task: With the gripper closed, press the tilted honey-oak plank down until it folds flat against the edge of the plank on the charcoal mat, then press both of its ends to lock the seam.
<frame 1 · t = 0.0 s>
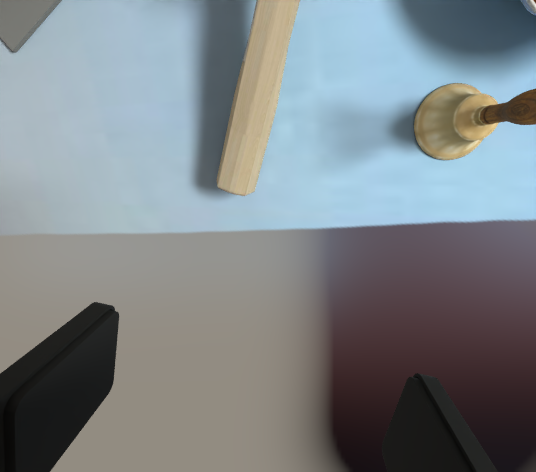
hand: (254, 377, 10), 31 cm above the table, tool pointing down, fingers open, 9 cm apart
hand bell: (450, 122, 36), on the table
hammer: (272, 62, 36), on the table
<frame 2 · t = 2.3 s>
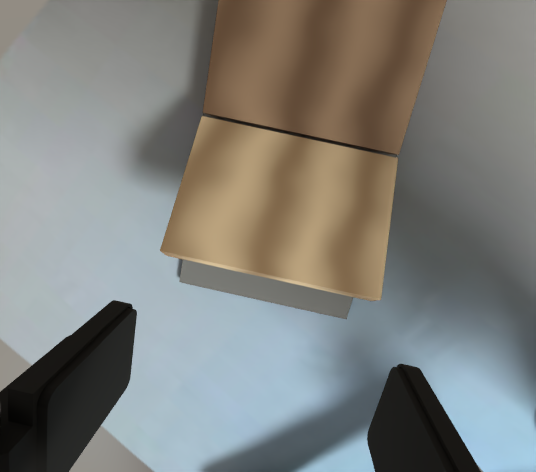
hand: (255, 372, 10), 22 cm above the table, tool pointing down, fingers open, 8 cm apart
floor section: (294, 156, 30), on the table
oak plank: (284, 206, 26), point 5 cm above the table, hinge at 30.0°
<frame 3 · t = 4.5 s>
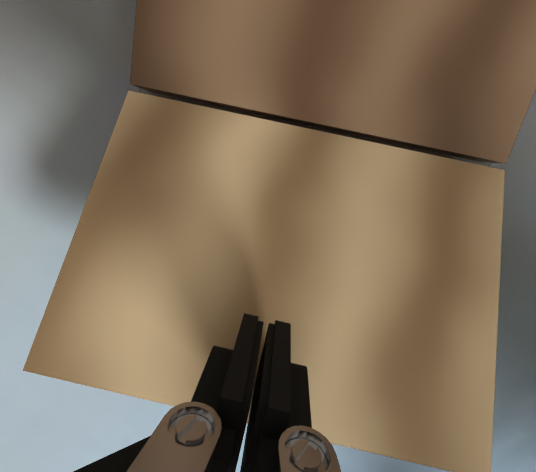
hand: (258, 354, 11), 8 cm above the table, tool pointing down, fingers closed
floor section: (303, 165, 17), on the table
oak plank: (284, 264, 14), point 5 cm above the table, hinge at 28.6°, touching gripper
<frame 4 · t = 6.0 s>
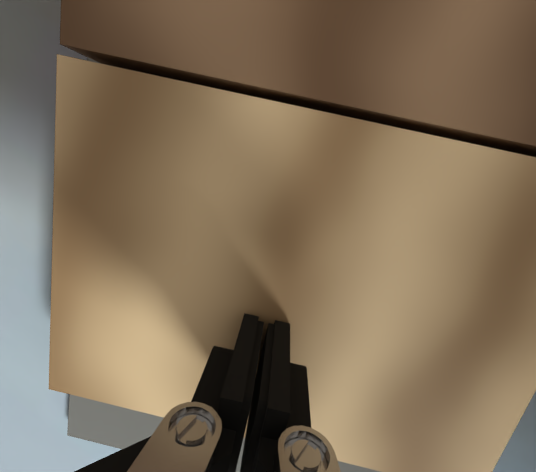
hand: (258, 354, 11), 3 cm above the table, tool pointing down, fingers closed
floor section: (321, 171, 12), on the table
oak plank: (295, 291, 11), point 2 cm above the table, hinge at -0.5°, touching floor section, gripper
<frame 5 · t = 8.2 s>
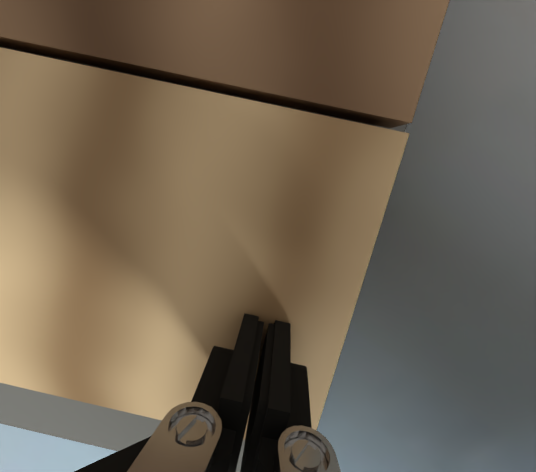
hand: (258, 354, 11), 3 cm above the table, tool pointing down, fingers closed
floor section: (151, 137, 12), on the table
oak plank: (120, 254, 12), point 2 cm above the table, hinge at -0.5°, touching floor section, gripper
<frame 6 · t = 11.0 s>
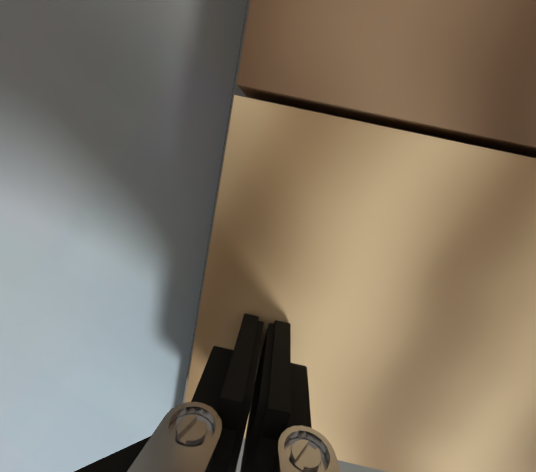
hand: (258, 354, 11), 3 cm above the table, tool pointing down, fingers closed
floor section: (459, 202, 12), on the table
oak plank: (440, 324, 11), point 2 cm above the table, hinge at -0.5°, touching floor section, gripper
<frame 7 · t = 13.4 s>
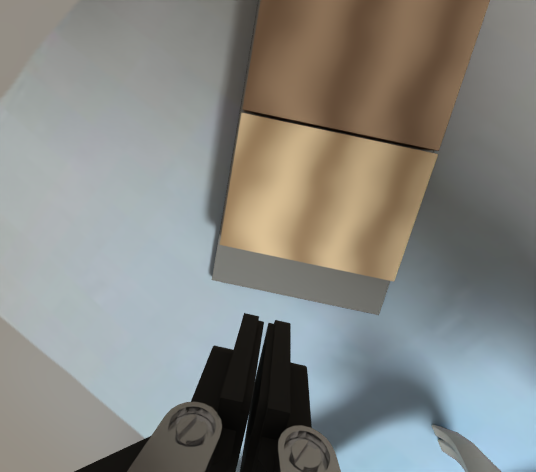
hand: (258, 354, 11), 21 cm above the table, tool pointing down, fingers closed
floor section: (330, 153, 30), on the table
oak plank: (321, 200, 29), point 2 cm above the table, hinge at -0.5°, touching floor section
hammer: (347, 461, 40), on the table
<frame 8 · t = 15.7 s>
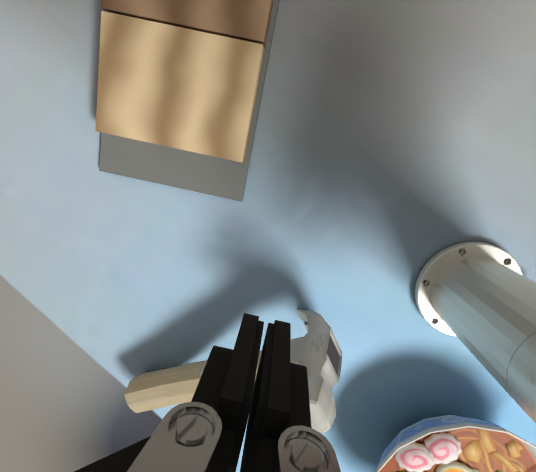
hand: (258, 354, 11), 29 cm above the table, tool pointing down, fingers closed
floor section: (187, 53, 35), on the table
ramen bowl: (435, 445, 47), on the table
oak plank: (178, 91, 35), point 2 cm above the table, hinge at -0.5°, touching floor section
hammer: (231, 348, 45), on the table
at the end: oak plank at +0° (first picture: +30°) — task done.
